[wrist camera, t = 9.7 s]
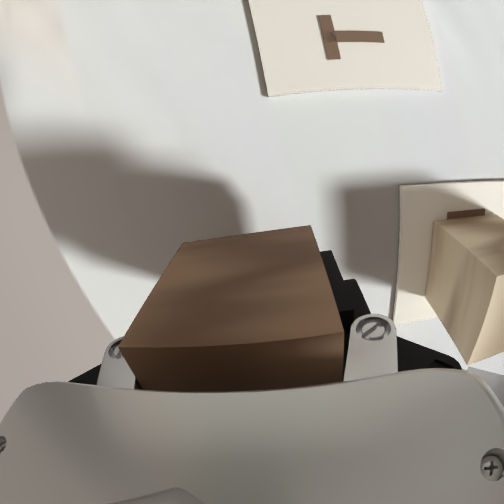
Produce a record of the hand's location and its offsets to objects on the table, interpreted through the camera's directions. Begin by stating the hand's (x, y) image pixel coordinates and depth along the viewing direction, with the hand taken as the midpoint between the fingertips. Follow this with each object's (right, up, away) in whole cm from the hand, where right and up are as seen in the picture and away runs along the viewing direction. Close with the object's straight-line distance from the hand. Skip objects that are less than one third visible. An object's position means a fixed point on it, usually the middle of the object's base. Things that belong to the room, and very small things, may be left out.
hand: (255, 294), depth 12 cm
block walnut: (0, 0, 0) cm, 0 cm away
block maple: (+13, +1, +2) cm, 13 cm away
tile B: (+13, +2, +3) cm, 13 cm away
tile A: (+4, +13, -2) cm, 14 cm away
